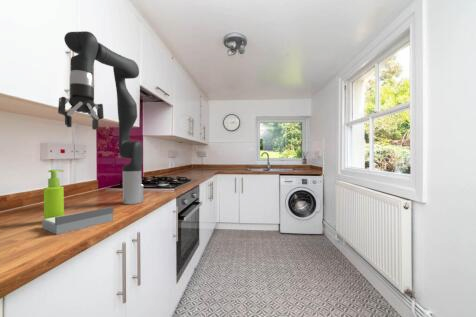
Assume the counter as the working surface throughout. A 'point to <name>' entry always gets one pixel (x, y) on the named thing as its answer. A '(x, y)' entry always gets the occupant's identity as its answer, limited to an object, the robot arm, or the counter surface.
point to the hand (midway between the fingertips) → (82, 128)
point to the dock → (77, 220)
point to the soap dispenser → (53, 197)
